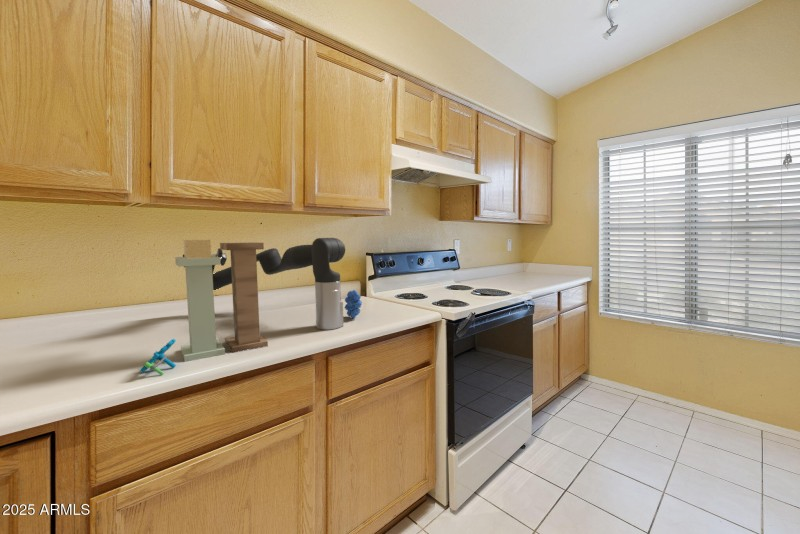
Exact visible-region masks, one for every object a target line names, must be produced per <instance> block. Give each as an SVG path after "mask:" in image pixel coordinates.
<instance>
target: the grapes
mask: <svg viewBox="0 0 800 534" xmlns="http://www.w3.org/2000/svg"><path fill="white" fill-rule="evenodd" d="M361 298H362V297H361V295H360V294H359V293H358V291H357V290H356V289H353V290H350V291H348V292H347V294H346V297H345V299H344V302H345V303H346V304H345V306H344V309H345V310H346V315H347V316H348V317H350V318H352V319H355V318H356V317H357V316H358V315H359V314H360V313H361V309H360V308H361V307H362V305H363V302H362V301H361Z"/></svg>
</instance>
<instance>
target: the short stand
mask: <svg viewBox="0 0 800 534" xmlns="http://www.w3.org/2000/svg"><path fill="white" fill-rule="evenodd" d="M174 258H175V266H177V267H179V268H180V267H184V266H185V267H184V268H185V282H186V283H185V287H186V298H187V302H186V303H187V315H188V316H187V317H188V318H187V319H188V333H189V343H187V344H181V345H180V350H181V351H180V352H181V354H182V358H183V357H184V358H183V360H184V362H189V361H188V360H190V361H193V360H194V359H195V360H200V359H199V358H201V359H206V358H211V357H210V356H212V357H215V356H216V355H217V356H221V354H222V355H226V348H225V347H224V345H223V344H222V343H221V341H220V340H219V339H218V338H217V333H216V332H217V331H216V315H215V299H214V297H215V296H214V293H215V292H214V293H213V275H212V265H215V266H217V265H218V266H219V265H220V266H221V264H220V257H218V256H217V257H216V256H211V258H189V259H186V258H185V257H183V256H176V257H174ZM205 357H206V358H205ZM195 360H194V361H195Z"/></svg>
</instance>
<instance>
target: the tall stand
mask: <svg viewBox="0 0 800 534" xmlns="http://www.w3.org/2000/svg"><path fill="white" fill-rule="evenodd" d="M264 246H265V245H264V242H251V241H250V242H219V248H220V249H221V250H222V251H230V267H231V273H232V284H231V289H232V290H231V291H232V292H231V294H232V307H233V308H232V309H233V311H232V312H233V327H234V336H231V337H225V338H224V342H225V345H226V346H227V347H228V348H229V350H230V351H231V353H238V351H239V352H243V350H244V351H248V350H247V349H249V350H254V349H253V348H255V349H259V348H258V347H260V348H264V347H263V346H266V347H268V346H269V343H268V340H267V339H266V338H264V337H263V336H262V335H261V334H260V312H259V309H260V308H259V290H258V289H259V287H258V270H257V269H258V267H257V266H258V264H257V263H258V261H257V262H256V254H257V250H264Z"/></svg>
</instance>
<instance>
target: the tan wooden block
mask: <svg viewBox="0 0 800 534" xmlns="http://www.w3.org/2000/svg"><path fill="white" fill-rule="evenodd" d="M211 245H212V244H211V239H183V250H184V253H183V255H184V256H185V258H186V259H189V258H211V255H212V251H211V250H212V246H211Z"/></svg>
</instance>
